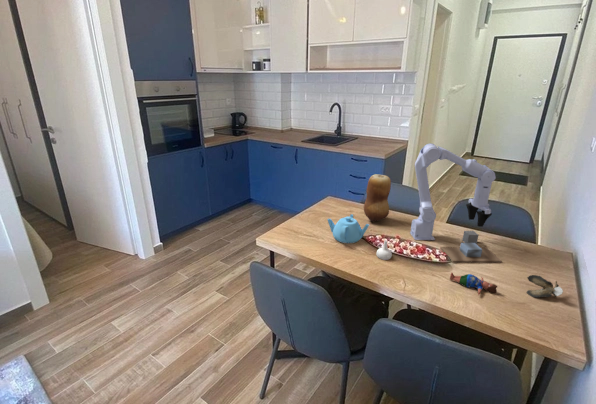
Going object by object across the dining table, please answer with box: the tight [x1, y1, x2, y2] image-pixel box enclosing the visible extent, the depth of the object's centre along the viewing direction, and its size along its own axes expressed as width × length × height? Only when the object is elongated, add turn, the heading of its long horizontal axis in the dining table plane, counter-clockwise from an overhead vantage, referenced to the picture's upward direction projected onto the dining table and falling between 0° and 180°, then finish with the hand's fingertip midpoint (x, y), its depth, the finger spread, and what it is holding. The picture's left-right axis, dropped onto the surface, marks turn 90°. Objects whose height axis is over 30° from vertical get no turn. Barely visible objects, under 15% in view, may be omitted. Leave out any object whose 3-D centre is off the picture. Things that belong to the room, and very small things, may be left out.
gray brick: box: [461, 230, 479, 245], centre depth 146 cm, size 4×4×5 cm
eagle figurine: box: [526, 274, 564, 298], centre depth 109 cm, size 8×7×9 cm
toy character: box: [449, 272, 498, 296], centre depth 115 cm, size 12×5×15 cm
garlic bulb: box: [375, 239, 393, 261], centre depth 134 cm, size 6×6×8 cm
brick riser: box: [439, 242, 503, 264], centre depth 135 cm, size 20×12×4 cm, turn 90°
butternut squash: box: [363, 173, 392, 222], centre depth 167 cm, size 14×13×25 cm
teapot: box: [327, 214, 370, 244], centre depth 150 cm, size 15×15×11 cm
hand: (475, 222), depth 145 cm, fingers open, 7 cm apart
